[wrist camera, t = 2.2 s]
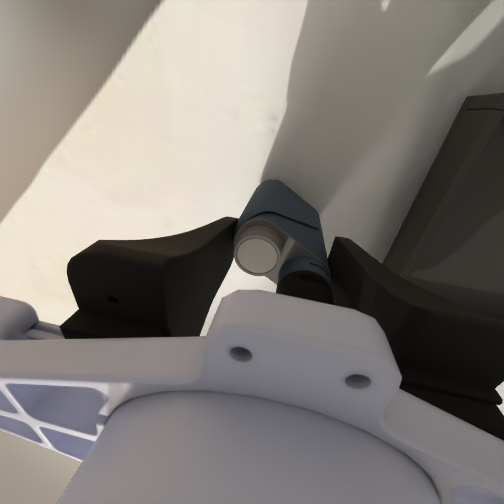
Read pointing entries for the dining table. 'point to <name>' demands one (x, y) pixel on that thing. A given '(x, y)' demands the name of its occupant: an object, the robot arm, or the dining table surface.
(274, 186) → the vaping device
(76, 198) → the dining table surface
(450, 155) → the tray
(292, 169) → the dining table surface
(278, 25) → the dining table surface
